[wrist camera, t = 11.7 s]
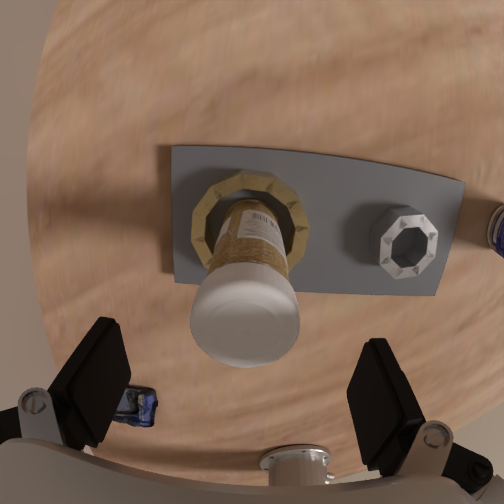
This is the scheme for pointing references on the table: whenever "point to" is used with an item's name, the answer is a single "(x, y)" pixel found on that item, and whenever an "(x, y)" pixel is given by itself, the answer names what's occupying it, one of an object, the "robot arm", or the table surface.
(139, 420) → the snack package
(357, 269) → the mounting board
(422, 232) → the steel collar
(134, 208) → the table surface
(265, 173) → the brass collar
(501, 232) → the pill bottle
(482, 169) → the table surface
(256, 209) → the sprinkles bottle
